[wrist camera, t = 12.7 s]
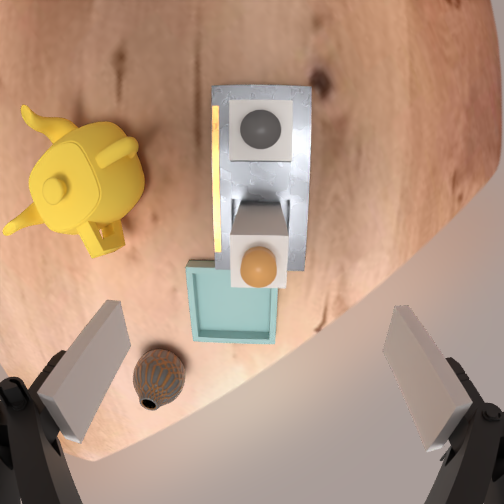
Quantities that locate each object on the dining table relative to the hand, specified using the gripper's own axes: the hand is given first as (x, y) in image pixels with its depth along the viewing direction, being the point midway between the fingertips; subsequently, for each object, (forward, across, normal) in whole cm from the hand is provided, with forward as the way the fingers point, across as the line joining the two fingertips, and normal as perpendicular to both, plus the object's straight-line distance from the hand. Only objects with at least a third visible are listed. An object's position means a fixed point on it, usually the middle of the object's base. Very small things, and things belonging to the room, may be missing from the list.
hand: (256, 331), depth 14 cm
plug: (+19, 0, 0) cm, 19 cm away
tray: (+20, -3, -10) cm, 23 cm away
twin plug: (+19, 0, +9) cm, 21 cm away
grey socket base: (+20, 0, +4) cm, 21 cm away
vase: (+20, -13, -21) cm, 32 cm away
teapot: (+21, -19, +5) cm, 29 cm away
